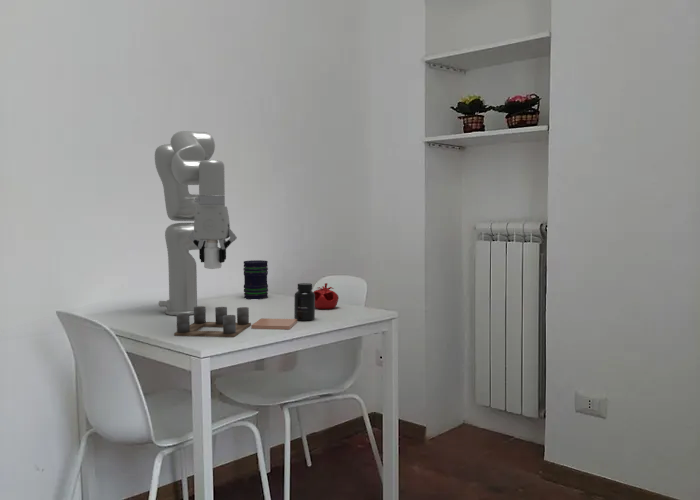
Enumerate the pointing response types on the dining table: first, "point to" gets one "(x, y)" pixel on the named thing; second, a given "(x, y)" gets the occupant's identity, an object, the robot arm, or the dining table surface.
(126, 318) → the dining table surface
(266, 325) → the terracotta tile
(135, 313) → the dining table surface
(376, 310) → the dining table surface
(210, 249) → the pepper shaker
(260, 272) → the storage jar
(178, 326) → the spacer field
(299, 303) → the supplement bottle
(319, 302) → the pomegranate
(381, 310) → the dining table surface
